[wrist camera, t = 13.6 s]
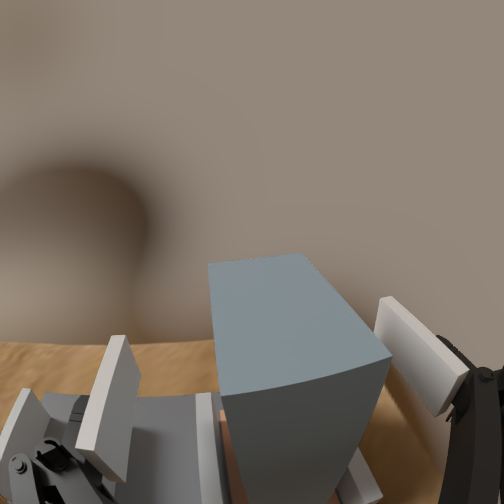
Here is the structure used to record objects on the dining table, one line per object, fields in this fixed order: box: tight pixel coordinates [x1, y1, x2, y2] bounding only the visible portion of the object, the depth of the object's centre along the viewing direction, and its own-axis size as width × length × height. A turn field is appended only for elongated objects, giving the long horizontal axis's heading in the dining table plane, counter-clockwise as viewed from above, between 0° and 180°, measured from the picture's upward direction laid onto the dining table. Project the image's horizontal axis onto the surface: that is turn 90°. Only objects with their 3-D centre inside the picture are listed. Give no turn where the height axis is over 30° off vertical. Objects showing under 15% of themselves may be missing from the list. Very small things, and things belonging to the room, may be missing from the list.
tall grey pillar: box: [208, 253, 393, 504], centre depth 11 cm, size 4×7×13 cm, turn 10°
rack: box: [0, 388, 383, 504], centre depth 12 cm, size 25×16×4 cm, turn 99°
